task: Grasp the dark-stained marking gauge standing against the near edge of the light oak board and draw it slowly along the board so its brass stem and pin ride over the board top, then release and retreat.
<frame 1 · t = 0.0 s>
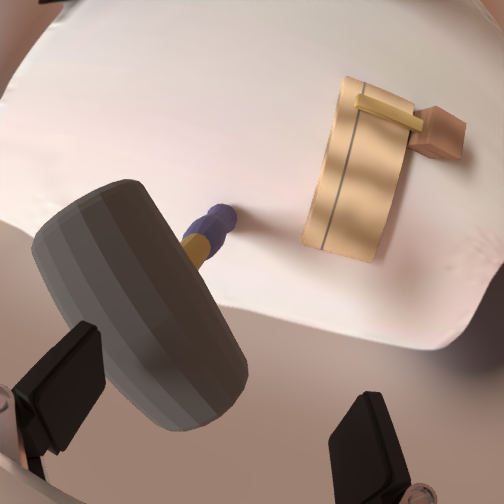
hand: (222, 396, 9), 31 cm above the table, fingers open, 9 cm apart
board: (358, 169, 35), on the table
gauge: (419, 136, 33), on the table
rubber mallet: (223, 216, 39), on the table
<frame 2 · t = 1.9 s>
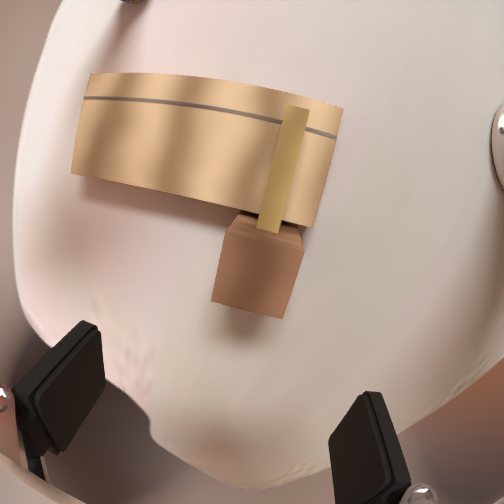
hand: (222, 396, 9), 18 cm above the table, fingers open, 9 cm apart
board: (195, 136, 23), on the table
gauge: (262, 243, 26), on the table
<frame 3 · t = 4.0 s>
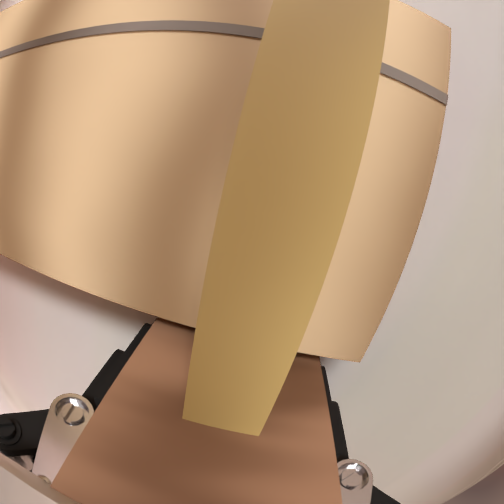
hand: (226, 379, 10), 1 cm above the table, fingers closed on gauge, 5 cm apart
board: (71, 117, 8), on the table
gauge: (230, 361, 11), on the table, touching gripper
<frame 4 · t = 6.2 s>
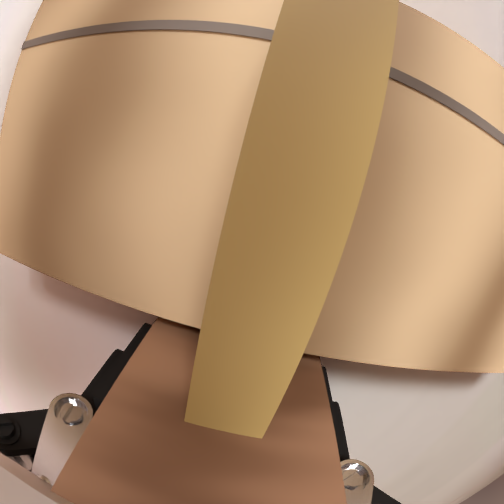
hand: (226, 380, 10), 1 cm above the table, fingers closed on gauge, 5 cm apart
board: (351, 169, 8), on the table
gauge: (229, 363, 11), on the table, touching gripper
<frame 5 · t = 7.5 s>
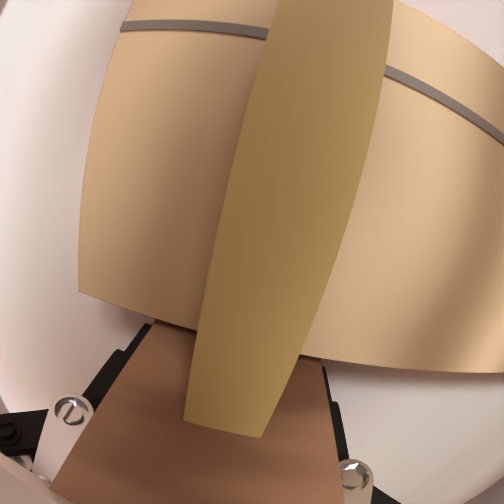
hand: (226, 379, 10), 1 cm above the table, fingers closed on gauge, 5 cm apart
board: (458, 212, 8), on the table
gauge: (230, 363, 11), on the table, touching gripper
when the fingers open (1 cm above the table, at t = 8.4 s): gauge stays where it is, on the table.
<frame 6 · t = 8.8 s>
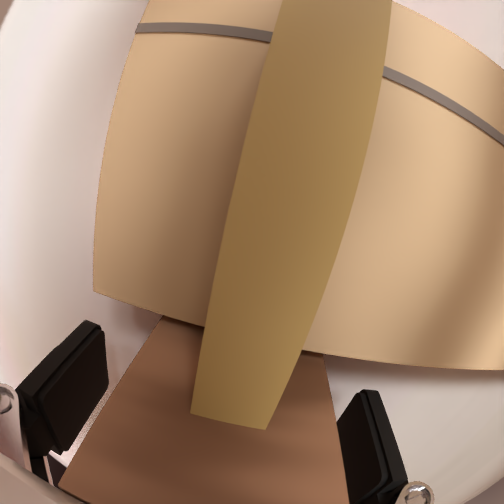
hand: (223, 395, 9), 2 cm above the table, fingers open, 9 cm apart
board: (463, 213, 8), on the table
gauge: (234, 359, 11), on the table
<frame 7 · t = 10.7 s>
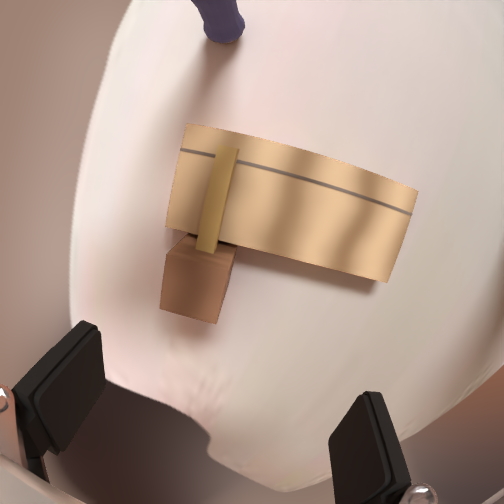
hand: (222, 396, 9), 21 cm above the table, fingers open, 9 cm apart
board: (294, 201, 28), on the table
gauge: (209, 258, 30), on the table
rubber mallet: (226, 33, 23), on the table
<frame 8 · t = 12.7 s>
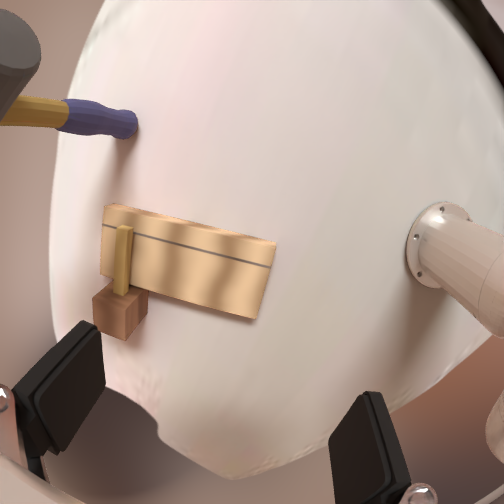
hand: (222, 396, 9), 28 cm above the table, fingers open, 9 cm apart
board: (182, 256, 38), on the table
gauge: (133, 293, 40), on the table
rubber mallet: (130, 125, 33), on the table
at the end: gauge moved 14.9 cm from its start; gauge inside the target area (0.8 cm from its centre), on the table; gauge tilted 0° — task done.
